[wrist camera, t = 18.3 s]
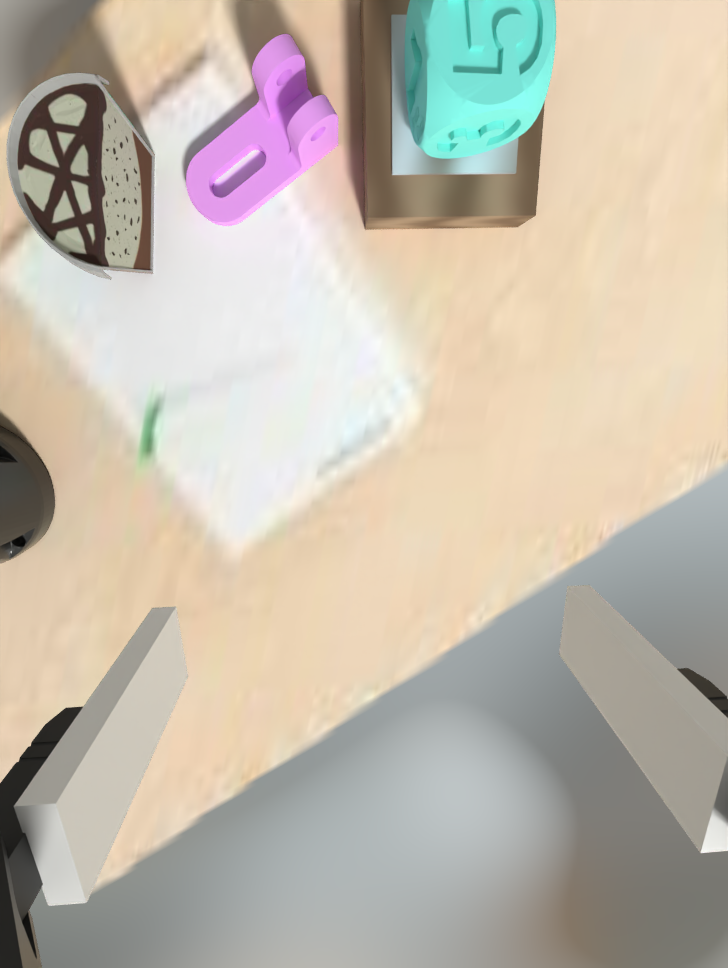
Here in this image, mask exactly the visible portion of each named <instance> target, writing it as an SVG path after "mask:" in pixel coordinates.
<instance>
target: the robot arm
mask: <svg viewBox="0 0 728 968" xmlns="http://www.w3.org/2000/svg"><path fill="white" fill-rule="evenodd" d="M54 508H55V497H54V490H53V486H52V482H51V479H50V477H49V474H48V472H47V470H46V468H45V467H44V465H43V463H42V462H41V460H40V459H39V457H38V456H37V455H36V454H35V452H34V451H33V450H32V449H31V448H30V447H29V446H28V445H27V444H26V443H25V442H24V441H22V440H21V439H20V438H19V437H17V436H16V435H15V434H13V433H11V432H10V431H8V430H7V429H5V428H3V427H1V426H0V563H3V562H6V561H8V560H11V559H13V558H15V557H17V556H18V555H20V554H21V553H23V552H24V551H26V550H27V549H29V548H30V547H32V546H33V545H35V544H36V543H37V542H38V541H39V540H40V539H41V538H42V537H43V536H44V534H45V533H46V532H47V530H48V528H49V526H50V524H51V521H52V518H53V514H54ZM559 655H560V656H561V658H562V659H563V660H564V662H565V663H566V665H567V666H568V667H569V669H570V670H571V672H572V673H573V674H574V676H575V677H576V679H577V680H578V681H579V683H580V684H581V685H582V687H583V688H584V690H585V691H586V693H587V694H588V695H589V697H590V698H591V700H592V701H593V702H594V704H595V705H596V707H597V708H598V709H599V711H600V712H601V714H602V715H603V717H604V718H605V719H606V721H607V722H608V724H609V725H610V726H611V728H612V729H613V730H614V732H615V733H616V735H617V736H618V738H619V739H620V740H621V742H622V743H623V745H624V746H625V747H626V749H627V750H628V752H629V753H630V755H631V756H632V757H633V759H634V760H635V761H636V763H637V764H638V766H639V767H640V768H641V770H642V771H643V773H644V774H645V776H646V777H647V778H648V780H649V781H650V782H651V784H652V785H653V787H654V788H655V790H656V791H657V792H658V794H659V795H660V797H661V798H662V799H663V801H664V802H665V804H666V805H667V806H668V808H669V809H670V811H671V812H672V813H673V815H674V816H675V818H676V819H677V821H678V822H679V823H680V825H681V826H682V827H683V829H684V830H685V832H686V833H687V834H688V836H689V837H690V839H691V840H692V842H693V843H694V844H695V846H696V847H697V849H698V850H699V851H700V853H706V852H718V851H728V699H727V696H725V695H724V694H723V693H722V692H721V691H720V690H719V689H718V688H717V687H715V685H713V684H712V683H711V682H710V681H709V680H707V679H705V678H704V677H702V676H700V675H699V674H697V673H695V672H694V671H692V670H690V669H688V668H684V669H676V668H675V667H674V666H673V665H672V664H671V663H670V662H669V661H668V660H667V659H666V658H665V657H664V656H663V655H662V654H661V653H660V652H658V651H657V650H656V649H655V648H654V647H653V646H652V645H651V644H650V643H649V642H648V641H647V640H646V639H645V638H644V637H643V636H642V635H641V634H640V633H639V632H637V630H636V629H635V628H633V627H632V626H631V625H630V624H629V623H628V622H627V621H626V620H625V619H624V618H623V617H622V616H621V615H620V614H619V613H618V612H617V611H616V610H615V609H614V608H613V607H612V606H610V605H609V603H607V602H606V601H605V600H604V599H603V598H602V597H601V596H600V595H599V594H598V593H597V592H596V591H595V590H594V589H593V588H592V587H591V586H590V585H582V586H568V587H567V595H566V603H565V611H564V619H563V627H562V635H561V643H560V651H559ZM187 678H188V673H187V667H186V661H185V655H184V650H183V644H182V638H181V632H180V626H179V620H178V615H177V609H176V607H162V608H152V609H151V611H150V612H149V613H148V615H147V616H146V618H145V619H144V621H143V622H142V623H141V625H140V626H139V628H138V629H137V631H136V632H135V634H134V635H133V636H132V638H131V639H130V641H129V642H128V644H127V645H126V646H125V648H124V649H123V651H122V652H121V654H120V655H119V656H118V658H117V659H116V661H115V662H114V664H113V665H112V666H111V668H110V669H109V671H108V672H107V674H106V675H105V676H104V678H103V679H102V681H101V682H100V684H99V685H98V687H97V688H96V689H95V691H94V692H93V694H92V695H91V697H90V698H89V699H88V701H87V702H86V704H85V705H84V707H72V708H65V709H64V710H63V711H61V712H60V713H59V714H58V715H56V716H55V717H54V718H53V719H52V720H50V721H49V722H48V723H47V724H45V726H44V727H43V728H42V730H41V731H40V732H39V734H38V735H37V736H36V737H35V739H34V740H33V741H32V743H31V746H30V747H28V748H27V749H26V751H25V752H24V753H23V754H22V756H21V757H20V760H19V762H16V764H15V765H14V766H13V768H12V769H11V770H10V771H9V773H8V774H7V775H6V777H5V778H4V779H3V781H2V782H1V783H0V968H42V965H41V960H40V955H39V950H38V945H37V940H36V935H35V930H34V925H33V920H32V917H31V914H30V911H29V909H30V907H31V905H32V903H33V902H34V900H35V898H36V896H37V894H38V892H39V891H40V889H41V887H42V889H43V892H44V895H45V898H46V901H47V903H48V906H53V905H65V904H77V903H86V902H87V901H88V898H89V896H90V894H91V892H92V890H93V887H94V885H95V883H96V881H97V878H98V876H99V874H100V872H101V869H102V867H103V865H104V863H105V861H106V858H107V856H108V854H109V852H110V849H111V847H112V845H113V843H114V840H115V838H116V836H117V834H118V832H119V829H120V827H121V825H122V823H123V820H124V818H125V816H126V814H127V811H128V809H129V807H130V805H131V802H132V800H133V798H134V796H135V794H136V791H137V789H138V787H139V785H140V782H141V780H142V778H143V776H144V773H145V771H146V769H147V767H148V765H149V762H150V760H151V758H152V756H153V753H154V751H155V749H156V747H157V744H158V742H159V740H160V738H161V736H162V733H163V731H164V729H165V727H166V724H167V722H168V720H169V718H170V715H171V713H172V711H173V709H174V707H175V704H176V702H177V700H178V698H179V695H180V693H181V691H182V689H183V686H184V684H185V682H186V680H187Z"/></svg>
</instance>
